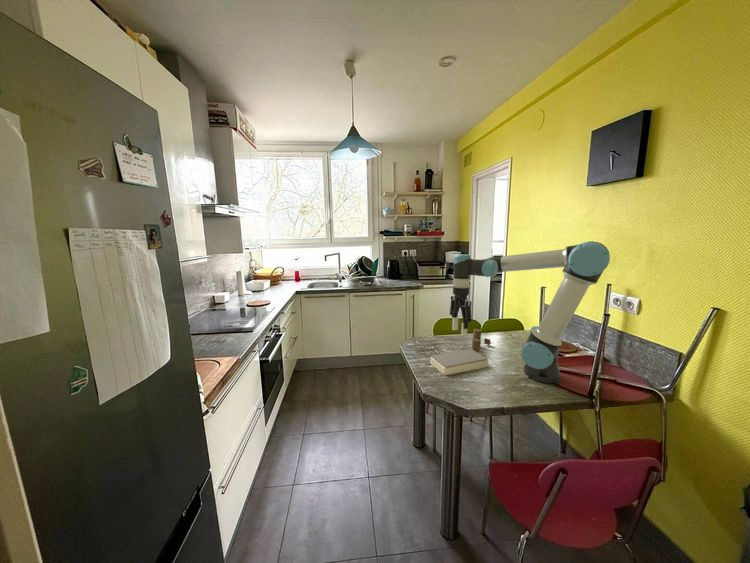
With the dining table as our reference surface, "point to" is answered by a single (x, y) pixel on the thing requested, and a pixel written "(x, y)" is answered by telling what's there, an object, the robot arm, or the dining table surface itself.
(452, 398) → the dining table surface
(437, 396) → the dining table surface
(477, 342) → the wooden block set
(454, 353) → the two-tone flat slab
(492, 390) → the dining table surface
